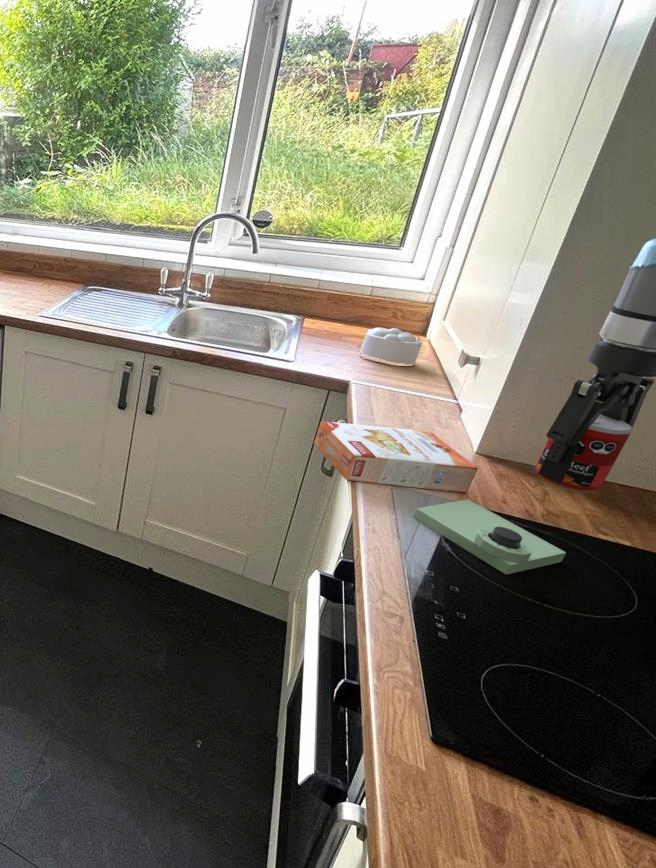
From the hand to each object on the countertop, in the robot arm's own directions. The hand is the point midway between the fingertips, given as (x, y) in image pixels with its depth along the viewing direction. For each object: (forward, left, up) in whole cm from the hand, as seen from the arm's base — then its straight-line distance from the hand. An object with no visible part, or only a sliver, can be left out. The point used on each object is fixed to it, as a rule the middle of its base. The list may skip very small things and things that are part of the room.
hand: (567, 474), depth 95 cm
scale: (-1, +15, -10) cm, 18 cm away
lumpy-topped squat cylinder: (+66, -48, -10) cm, 82 cm away
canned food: (0, 0, -1) cm, 1 cm away
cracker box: (+16, +1, -7) cm, 17 cm away
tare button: (-5, +18, -7) cm, 20 cm away
